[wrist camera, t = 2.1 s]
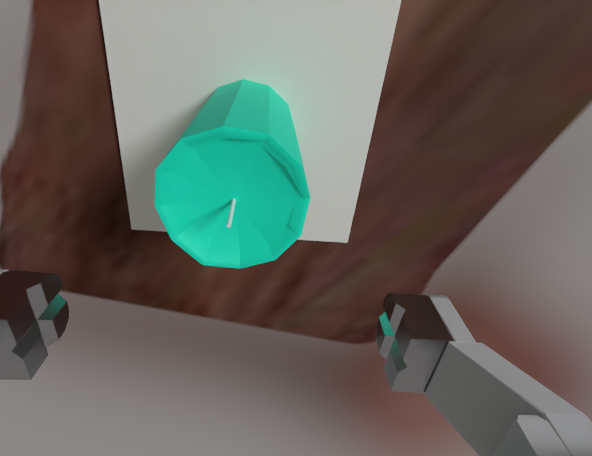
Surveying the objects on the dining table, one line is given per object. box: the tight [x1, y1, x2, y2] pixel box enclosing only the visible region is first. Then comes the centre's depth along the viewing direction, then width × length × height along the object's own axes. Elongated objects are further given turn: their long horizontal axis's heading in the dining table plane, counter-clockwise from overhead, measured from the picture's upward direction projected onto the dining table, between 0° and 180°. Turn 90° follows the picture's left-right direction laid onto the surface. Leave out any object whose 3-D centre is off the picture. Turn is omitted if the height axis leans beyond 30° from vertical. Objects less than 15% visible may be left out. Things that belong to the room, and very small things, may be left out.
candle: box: [154, 79, 310, 269], centre depth 17 cm, size 6×6×12 cm
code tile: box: [99, 0, 401, 243], centre depth 23 cm, size 16×16×1 cm
